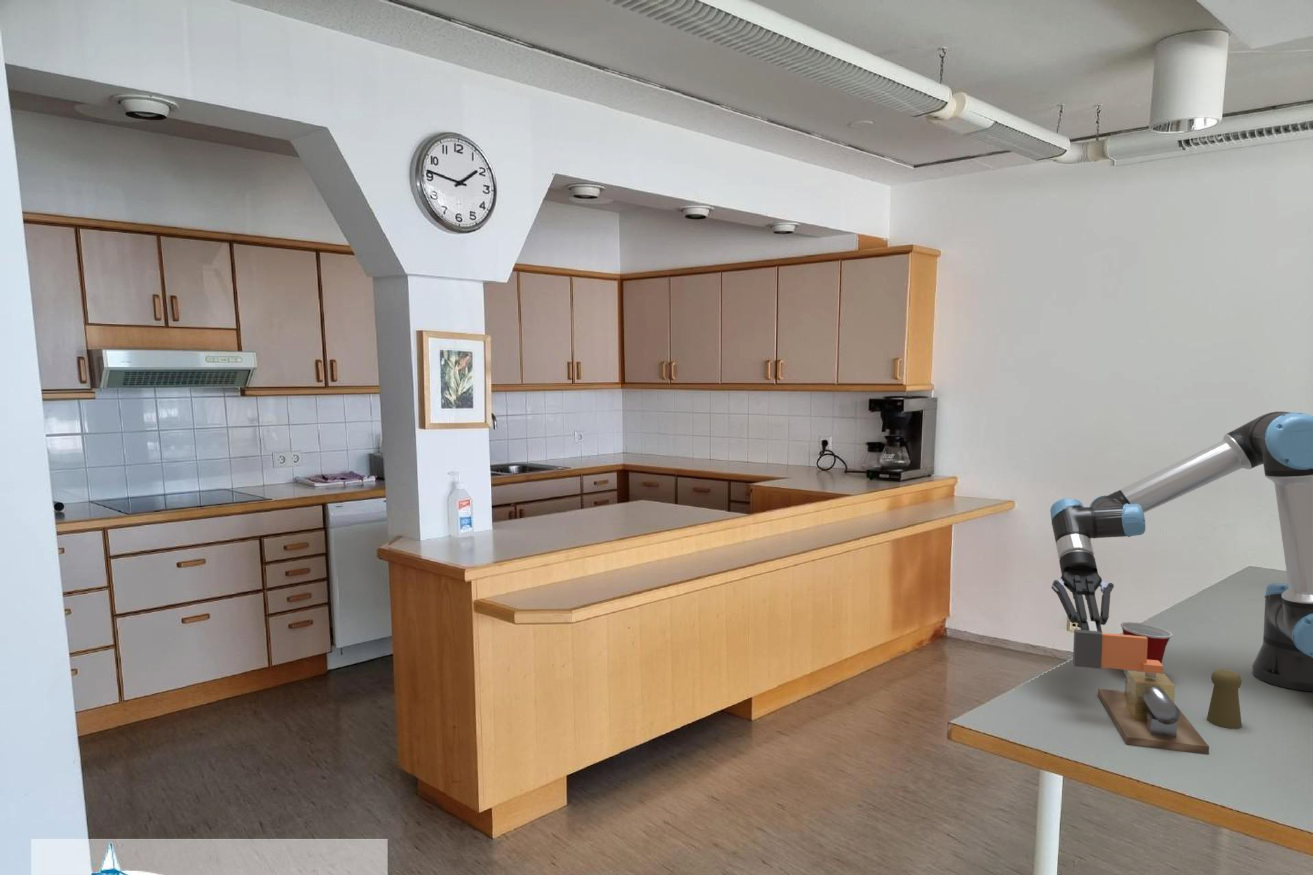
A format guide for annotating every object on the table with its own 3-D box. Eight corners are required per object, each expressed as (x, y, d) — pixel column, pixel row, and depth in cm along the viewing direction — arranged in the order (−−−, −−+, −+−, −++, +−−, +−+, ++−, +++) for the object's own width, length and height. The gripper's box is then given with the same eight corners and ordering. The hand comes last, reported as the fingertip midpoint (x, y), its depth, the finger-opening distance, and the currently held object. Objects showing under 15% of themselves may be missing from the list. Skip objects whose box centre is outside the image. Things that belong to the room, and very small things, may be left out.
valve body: (1151, 695, 180) (1153, 660, 180) (1186, 741, 157) (1188, 701, 157) (1116, 691, 182) (1117, 657, 182) (1145, 736, 160) (1147, 697, 159)
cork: (1242, 730, 166) (1245, 678, 165) (1207, 724, 169) (1209, 672, 168) (1240, 720, 171) (1243, 669, 170) (1206, 714, 174) (1208, 664, 173)
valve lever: (1157, 673, 170) (1159, 635, 170) (1162, 679, 167) (1164, 640, 166) (1072, 665, 175) (1073, 628, 175) (1075, 671, 172) (1076, 633, 171)
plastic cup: (1178, 686, 190) (1180, 635, 189) (1127, 682, 192) (1130, 633, 191) (1159, 669, 200) (1161, 622, 199) (1111, 666, 202) (1113, 619, 202)
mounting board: (1168, 702, 180) (1168, 695, 180) (1208, 753, 156) (1209, 746, 155) (1097, 694, 184) (1098, 688, 184) (1126, 744, 160) (1126, 736, 160)
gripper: (1102, 568, 191) (1124, 661, 176) (1043, 565, 194) (1059, 656, 179) (1111, 550, 186) (1133, 645, 171) (1049, 548, 189) (1066, 641, 174)
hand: (1095, 651), depth 175 cm, fingers closed
